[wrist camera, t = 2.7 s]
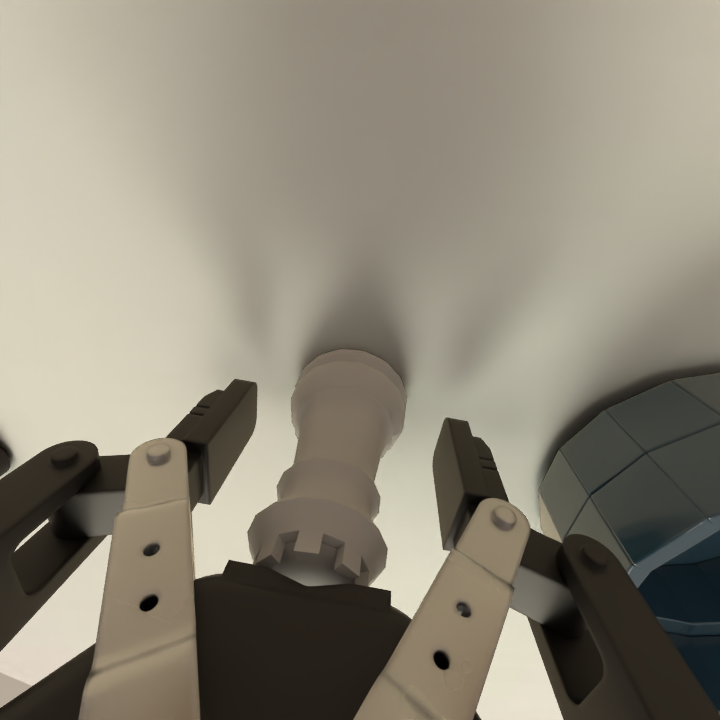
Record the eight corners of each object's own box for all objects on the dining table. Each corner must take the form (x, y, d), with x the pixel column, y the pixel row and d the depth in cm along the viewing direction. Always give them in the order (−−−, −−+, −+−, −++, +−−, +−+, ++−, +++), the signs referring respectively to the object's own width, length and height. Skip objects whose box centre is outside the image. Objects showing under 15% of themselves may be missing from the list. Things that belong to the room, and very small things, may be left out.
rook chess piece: (421, 360, 14) (448, 549, 6) (389, 449, 16) (382, 671, 8) (308, 330, 14) (207, 487, 6) (289, 423, 16) (196, 624, 8)
